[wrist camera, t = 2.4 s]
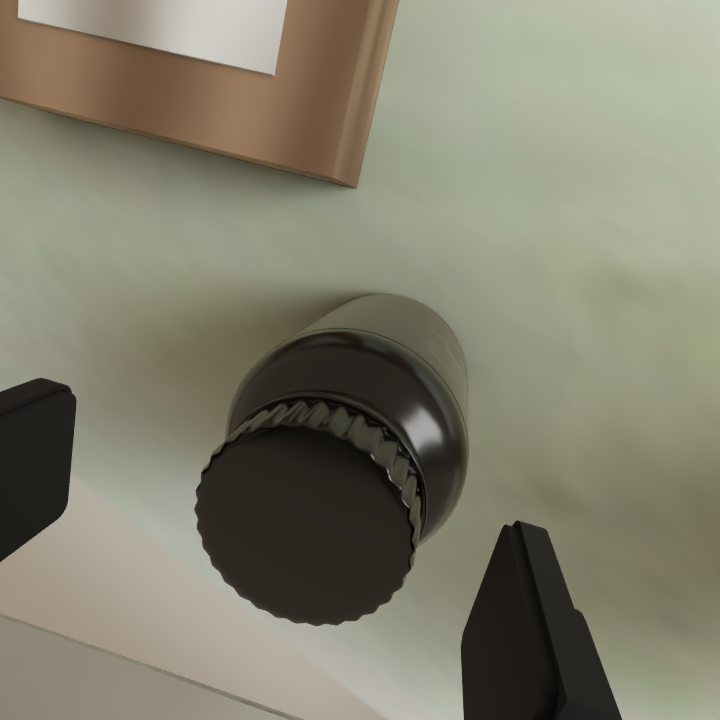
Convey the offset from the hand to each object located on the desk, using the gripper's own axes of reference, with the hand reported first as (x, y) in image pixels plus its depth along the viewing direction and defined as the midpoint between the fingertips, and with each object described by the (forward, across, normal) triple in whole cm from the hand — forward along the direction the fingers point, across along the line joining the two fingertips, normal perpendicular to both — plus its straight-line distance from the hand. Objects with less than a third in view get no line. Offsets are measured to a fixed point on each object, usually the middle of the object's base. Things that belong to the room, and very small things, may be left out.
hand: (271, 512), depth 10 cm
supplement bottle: (+12, -1, 0) cm, 12 cm away
